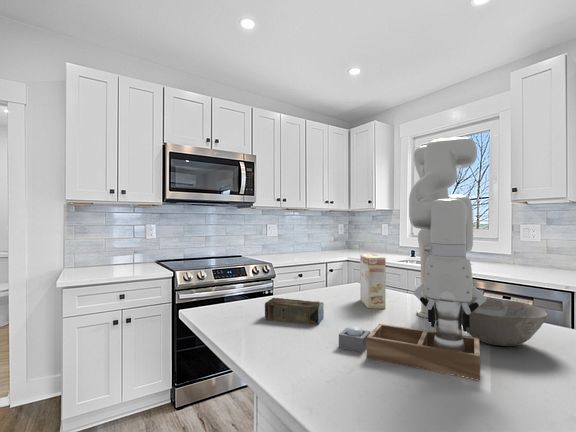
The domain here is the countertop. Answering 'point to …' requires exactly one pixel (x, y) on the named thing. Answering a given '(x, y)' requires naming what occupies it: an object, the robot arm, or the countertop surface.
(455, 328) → the plastic bottle
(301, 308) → the brown-grey rectangular block
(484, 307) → the ceramic bowl
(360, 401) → the countertop surface
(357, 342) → the button housing
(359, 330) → the white domed push button
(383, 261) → the coffeecake box
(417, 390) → the countertop surface
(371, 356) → the walnut bottle rack
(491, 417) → the countertop surface
